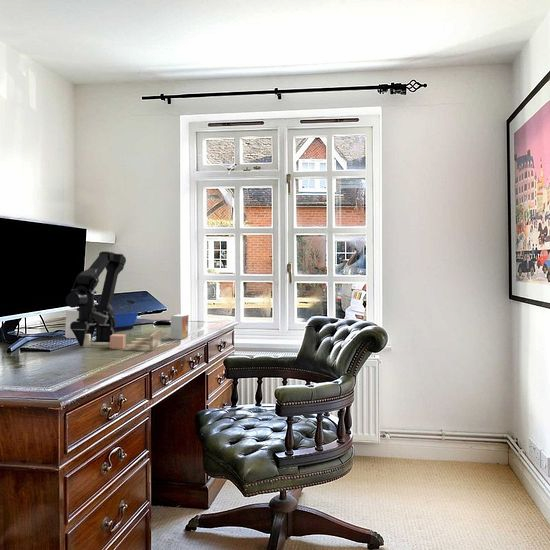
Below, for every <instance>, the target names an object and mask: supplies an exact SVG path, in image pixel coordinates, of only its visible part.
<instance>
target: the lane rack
mask: <svg viewBox="0 0 550 550" xmlns="http://www.w3.org/2000/svg"><path fill="white" fill-rule="evenodd" d="M134 339H135V340H131V341H130V344H126V343H125V347H124V348H125V351H142V352H143V351H151V352H153V351H154V350H155V349H157V348H158V347H159V346H160V345H161V344H162V329H157V330H155V331H154V332H152V334H150V335H149V338H146V337H145V338H144V337H143V338H142V337H141V338H140V337H139V338H137V337H136V338H134Z"/></svg>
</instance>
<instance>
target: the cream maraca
mask: <svg viewBox="0 0 550 550" xmlns="http://www.w3.org/2000/svg"><path fill="white" fill-rule="evenodd" d="M126 335H127V334H126V333H125V334H124V333H123V334H119V333H118V334H117V333H114V334H112V335H111V336H110V342H93V341H92V340H91V334H85V339H84V345H83V346H81V348H91V345H98V346H99V345H100V346H101V345H102V346H103V345H104V346H105V345H106V346H109V349H111V348H112V349H113V350H114V349H116V350H117V349H119V350H123V349H124V348H125V346H126ZM112 349H111V350H112Z"/></svg>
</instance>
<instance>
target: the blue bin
mask: <svg viewBox="0 0 550 550" xmlns="http://www.w3.org/2000/svg"><path fill="white" fill-rule="evenodd" d="M113 315H114V317H115V319H116V321H117V325H116V327H113V330H114V332H116V331H124V330H133V329H134V325H135V322H136V320H137V318H138V315H139V312H138V311H131V312H123V313H122V312H121V313H114V314H113Z"/></svg>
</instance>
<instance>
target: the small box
mask: <svg viewBox="0 0 550 550" xmlns="http://www.w3.org/2000/svg"><path fill="white" fill-rule="evenodd" d="M189 316H190V315H189V314H181V313H180V314H179V313H177V314H175V315H171V316H170V339H171V340H172V339H173V340H183V339H186V338H189Z"/></svg>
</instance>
